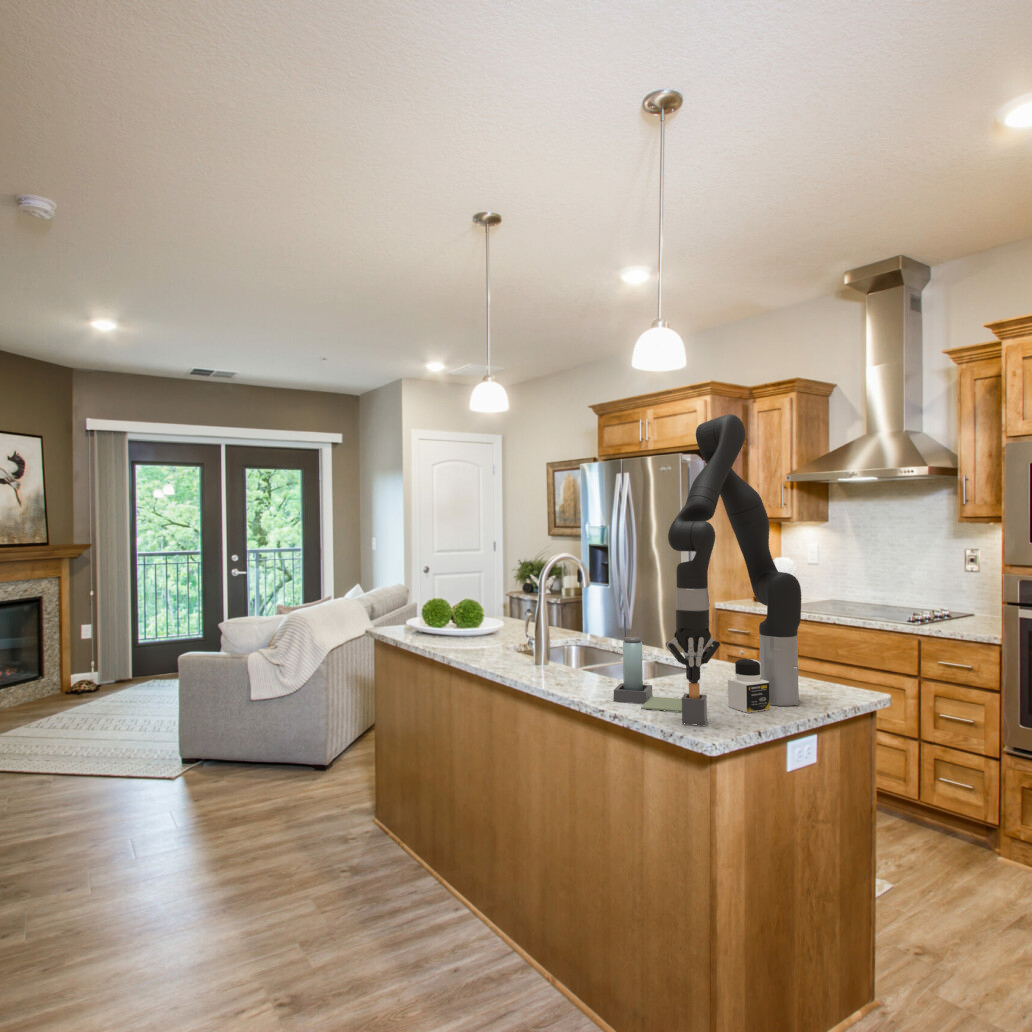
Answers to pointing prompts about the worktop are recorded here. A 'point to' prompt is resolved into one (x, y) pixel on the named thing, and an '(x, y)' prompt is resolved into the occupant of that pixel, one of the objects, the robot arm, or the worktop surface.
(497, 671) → the worktop surface
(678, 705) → the rubber mat
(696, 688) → the plunger
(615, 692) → the cartridge socket
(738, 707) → the medicine bottle
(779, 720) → the worktop surface
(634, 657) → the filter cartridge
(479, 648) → the worktop surface
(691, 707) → the gray square socket block
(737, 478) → the robot arm
